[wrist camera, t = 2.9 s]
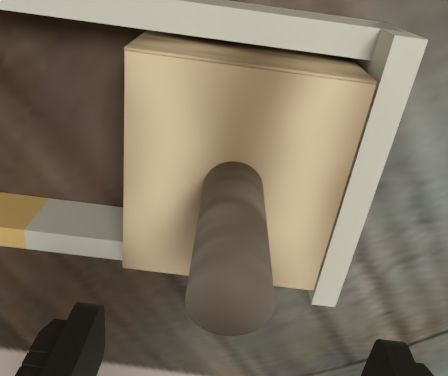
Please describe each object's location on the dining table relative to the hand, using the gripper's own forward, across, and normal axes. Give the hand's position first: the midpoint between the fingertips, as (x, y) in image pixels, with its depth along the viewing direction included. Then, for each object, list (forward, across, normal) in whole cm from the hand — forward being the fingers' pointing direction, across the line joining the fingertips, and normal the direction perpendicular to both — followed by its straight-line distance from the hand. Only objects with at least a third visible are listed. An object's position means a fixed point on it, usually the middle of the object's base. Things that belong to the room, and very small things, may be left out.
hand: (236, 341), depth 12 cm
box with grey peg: (+17, 0, 0) cm, 17 cm away
